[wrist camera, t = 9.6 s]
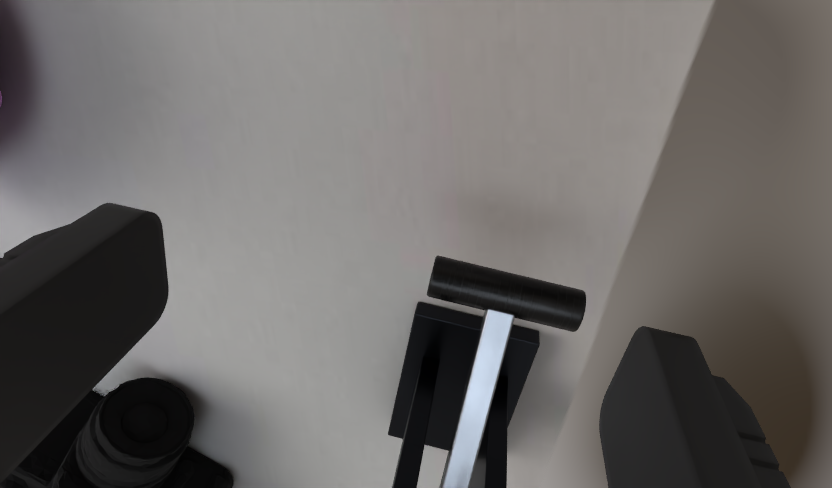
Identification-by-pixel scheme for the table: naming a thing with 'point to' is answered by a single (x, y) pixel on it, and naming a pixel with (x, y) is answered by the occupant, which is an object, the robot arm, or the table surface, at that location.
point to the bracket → (454, 392)
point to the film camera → (122, 444)
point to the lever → (493, 341)
